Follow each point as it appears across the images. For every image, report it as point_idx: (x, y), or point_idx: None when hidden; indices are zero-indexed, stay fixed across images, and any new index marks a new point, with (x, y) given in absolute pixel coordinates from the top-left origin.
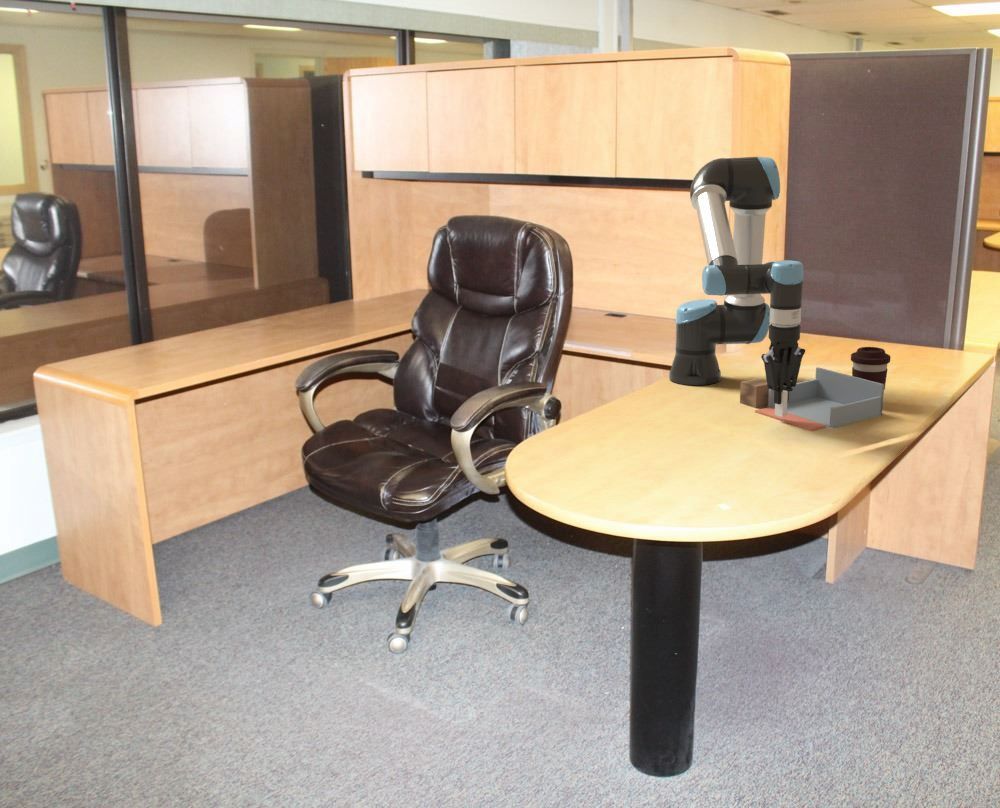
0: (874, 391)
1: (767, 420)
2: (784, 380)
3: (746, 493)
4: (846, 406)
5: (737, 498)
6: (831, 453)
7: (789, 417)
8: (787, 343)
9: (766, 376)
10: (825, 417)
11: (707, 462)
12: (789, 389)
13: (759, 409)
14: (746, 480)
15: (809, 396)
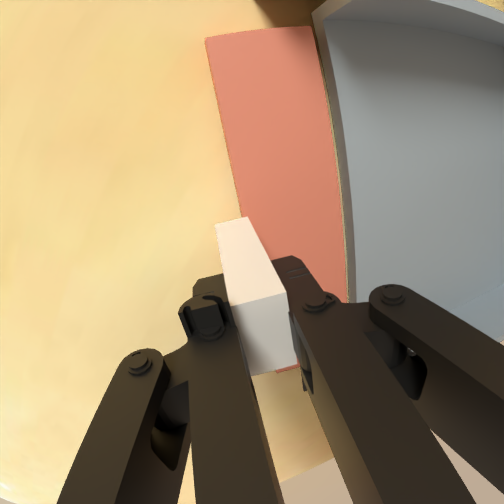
0: None
1: (220, 134)
2: (322, 400)
3: (26, 485)
4: None
5: (16, 485)
6: None
7: (297, 222)
8: None
9: (73, 476)
10: (417, 262)
11: None
12: (303, 389)
13: (238, 33)
14: (25, 469)
15: (501, 43)
